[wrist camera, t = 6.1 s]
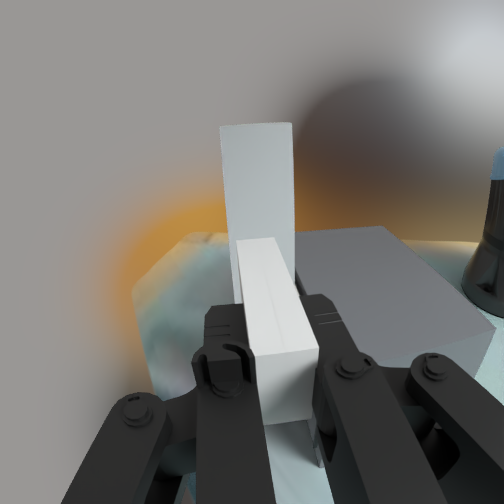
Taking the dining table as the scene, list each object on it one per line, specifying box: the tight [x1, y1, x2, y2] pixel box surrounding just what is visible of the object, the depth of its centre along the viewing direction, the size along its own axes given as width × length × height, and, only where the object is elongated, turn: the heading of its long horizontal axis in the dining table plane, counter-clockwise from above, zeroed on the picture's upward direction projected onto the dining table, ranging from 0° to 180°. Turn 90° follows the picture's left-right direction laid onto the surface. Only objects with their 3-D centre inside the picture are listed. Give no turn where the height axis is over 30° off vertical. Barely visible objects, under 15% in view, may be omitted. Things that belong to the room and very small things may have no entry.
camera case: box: [295, 226, 496, 468], centre depth 28 cm, size 20×12×12 cm, turn 5°
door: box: [219, 122, 300, 304], centre depth 25 cm, size 10×5×22 cm, turn 5°
